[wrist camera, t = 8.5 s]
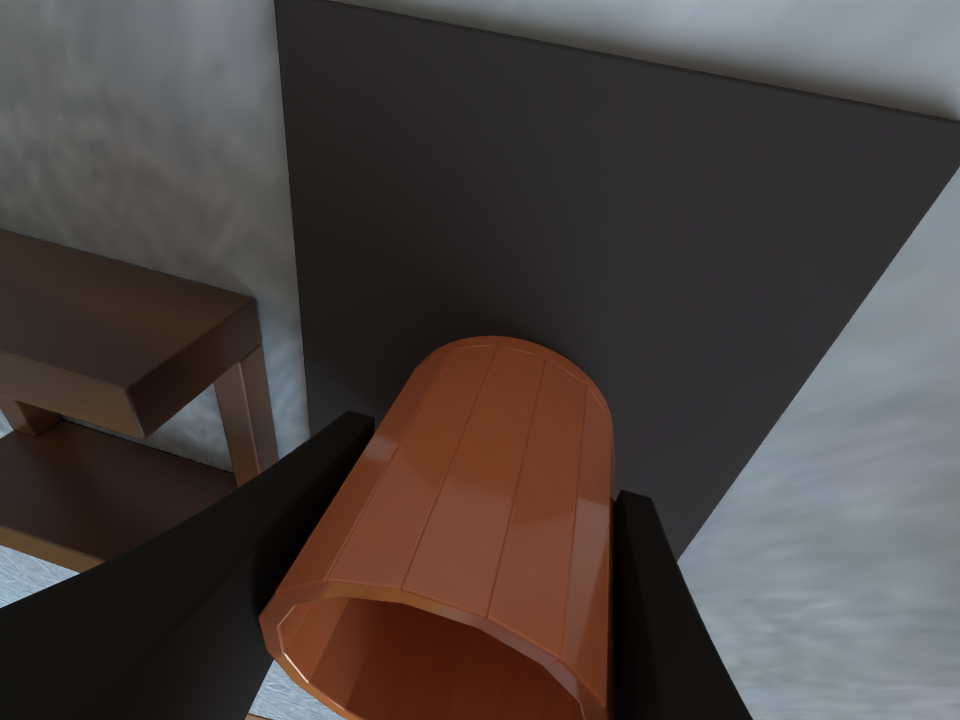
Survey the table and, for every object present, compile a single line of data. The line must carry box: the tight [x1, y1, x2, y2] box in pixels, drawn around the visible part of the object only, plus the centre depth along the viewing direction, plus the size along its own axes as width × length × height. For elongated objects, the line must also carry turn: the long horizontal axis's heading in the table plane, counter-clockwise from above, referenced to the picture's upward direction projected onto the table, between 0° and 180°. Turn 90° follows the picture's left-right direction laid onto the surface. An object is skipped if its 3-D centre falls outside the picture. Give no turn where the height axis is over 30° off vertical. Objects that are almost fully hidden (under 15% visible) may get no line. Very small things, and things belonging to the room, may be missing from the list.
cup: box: [258, 336, 615, 720], centre depth 9 cm, size 5×5×6 cm
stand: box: [0, 230, 279, 573], centre depth 14 cm, size 9×10×4 cm
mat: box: [274, 0, 960, 561], centre depth 12 cm, size 16×11×1 cm
